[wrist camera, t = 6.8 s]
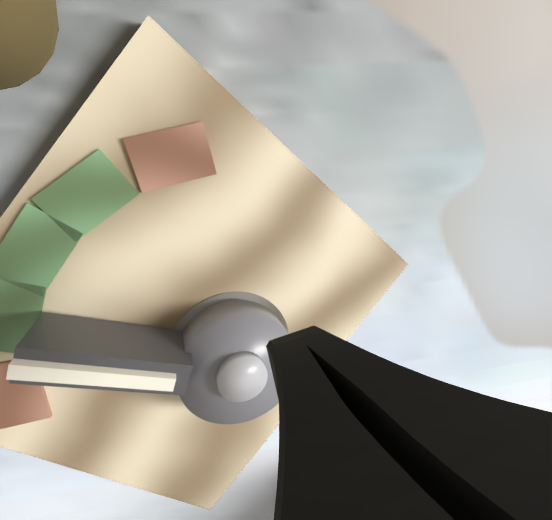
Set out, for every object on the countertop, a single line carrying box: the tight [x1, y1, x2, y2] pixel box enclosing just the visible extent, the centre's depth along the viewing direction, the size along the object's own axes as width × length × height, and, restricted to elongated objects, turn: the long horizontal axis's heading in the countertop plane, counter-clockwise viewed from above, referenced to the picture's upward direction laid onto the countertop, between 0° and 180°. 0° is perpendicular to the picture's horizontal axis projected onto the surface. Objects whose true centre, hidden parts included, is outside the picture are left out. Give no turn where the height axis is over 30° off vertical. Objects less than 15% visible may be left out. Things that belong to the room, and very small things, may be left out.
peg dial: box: [6, 300, 288, 424], centre depth 16 cm, size 12×6×3 cm, turn 72°
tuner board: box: [0, 16, 408, 510], centre depth 18 cm, size 18×20×1 cm
